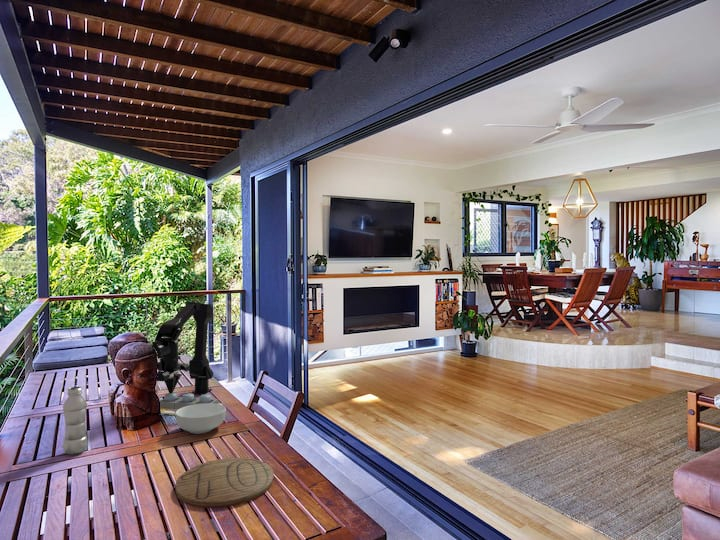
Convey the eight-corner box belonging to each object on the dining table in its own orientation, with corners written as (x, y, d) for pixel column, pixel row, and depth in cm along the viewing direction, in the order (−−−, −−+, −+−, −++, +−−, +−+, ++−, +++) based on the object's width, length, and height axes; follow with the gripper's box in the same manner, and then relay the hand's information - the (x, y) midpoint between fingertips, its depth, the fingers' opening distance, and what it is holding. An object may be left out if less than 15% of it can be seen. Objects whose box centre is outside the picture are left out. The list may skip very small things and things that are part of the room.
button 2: (186, 400, 189) (186, 393, 189) (196, 401, 188) (195, 393, 188) (179, 403, 184) (179, 396, 184) (190, 404, 183) (190, 396, 183)
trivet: (177, 519, 107) (177, 510, 107) (173, 473, 130) (173, 466, 130) (283, 496, 117) (283, 489, 117) (263, 458, 140) (263, 451, 140)
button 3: (203, 401, 187) (203, 394, 187) (213, 402, 186) (213, 394, 186) (197, 404, 183) (197, 397, 183) (207, 405, 182) (207, 397, 182)
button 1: (169, 399, 190) (169, 392, 190) (179, 400, 189) (179, 392, 189) (162, 402, 186) (162, 395, 186) (172, 403, 185) (172, 395, 185)
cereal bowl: (235, 429, 164) (235, 409, 163) (190, 442, 151) (190, 421, 151) (210, 418, 175) (210, 399, 175) (166, 430, 163) (166, 410, 163)
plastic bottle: (62, 458, 139) (61, 392, 139) (64, 450, 145) (63, 386, 145) (87, 454, 142) (86, 389, 142) (88, 446, 148) (87, 384, 148)
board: (169, 402, 194) (169, 394, 194) (223, 405, 190) (223, 397, 190) (148, 413, 180) (148, 405, 180) (205, 417, 176) (205, 408, 176)
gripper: (166, 349, 198) (166, 386, 198) (137, 358, 179) (137, 399, 180) (190, 350, 196) (190, 387, 196) (163, 359, 177) (164, 400, 178)
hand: (171, 393), depth 187 cm, fingers closed
